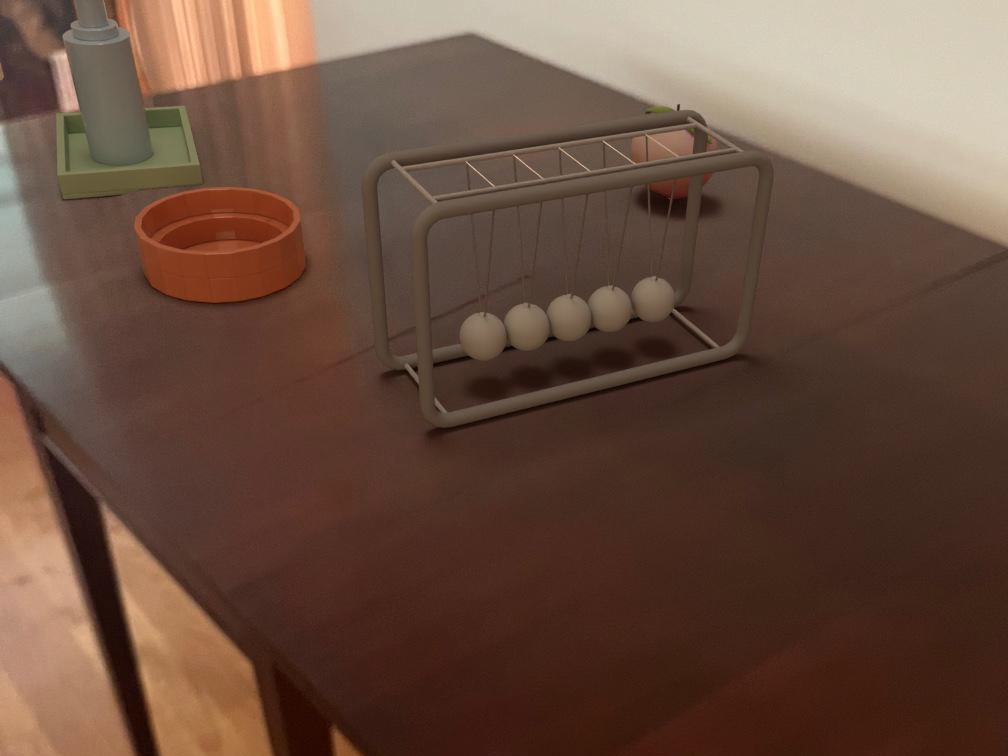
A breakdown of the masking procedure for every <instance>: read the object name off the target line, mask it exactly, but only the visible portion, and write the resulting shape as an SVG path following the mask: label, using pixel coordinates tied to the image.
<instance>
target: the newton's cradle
mask: <svg viewBox="0 0 1008 756" xmlns="http://www.w3.org/2000/svg"><path fill="white" fill-rule="evenodd" d="M707 126H708V125H707V122H706V120H705V118H704V117H703V116H702V115H701V113H699V112H698V111H695V110H693V109H680V110H679V111H677V110H675V111H672V112H666V113H659V114H657V113H653V114H652V113H651V114H645V115H638V116H630V117H625V118H618V119H611V120H605V121H597V122H590V123H589V122H588V123H583V124H575V125H569V126H562V127H561V126H560V127H554V128H548V129H540V130H534V131H527V132H521V133H512V134H505V135H499V136H492V137H485V138H479V139H471V140H464V141H457V142H449V143H443V144H438V145H429V146H423V147H422V146H421V147H417V148H409V149H402V150H395V151H389V152H386V153H383V154H380V155H378V156H377V157H375V158H374V159H372V160H371V162H369V164H367V165H368V166H366V168H365V170H364V172H363V175H362V178H361V197H362V210H363V222H364V235H365V245H366V257H367V268H368V269H367V272H368V282H369V294H370V306H371V316H372V317H371V318H372V328H373V330H372V331H373V342H374V350H375V353H376V357H377V358H378V360H379V362H380V363H381V364H382V365H383V366H385V367H386V368H388V369H391V370H394V371H405V370H406V371H407V372H408V373H409V375H410V376H411V377H412V379H413V380H414V381H415V382H416V384H417V385H418V395H419V397H418V398H419V407H420V411H421V415H422V416H423V418H424V419H425V421H426V422H428V423H429V424H431V425H432V426H434V427H436V428H437V427H438V428H441V429H442V428H443V429H446V428H454V427H458V426H462V425H467V424H470V423H473V422H477V421H478V422H479V421H482V420H485V419H489V418H494V417H497V416H502V415H506V414H511V413H514V412H518V411H523V410H527V409H530V408H534V407H537V406H543V405H546V404H550V403H555V402H558V401H562V400H566V399H571V398H575V397H578V396H583V395H586V394H590V393H594V392H598V391H602V390H607V389H610V388H614V387H619V386H623V385H627V384H630V383H634V382H639V381H643V380H647V379H651V378H655V377H660V376H662V375H668V374H672V373H675V372H680V371H684V370H687V369H692V368H696V367H699V366H704V365H708V364H712V363H717V362H719V361H723V360H728V359H729V358H732V357H733V356H735V355H736V354H737V353H739V352H740V350H741V349H742V348H743V347H744V346H745V345H746V343H747V341H748V339H749V336H750V332H751V327H752V320H753V314H754V309H755V308H754V307H755V299H756V294H757V288H758V281H759V274H760V269H761V261H762V257H763V249H764V242H765V236H766V229H767V223H768V217H769V209H770V203H771V197H772V191H773V183H774V171H775V170H774V166H773V163H772V160H771V159H770V158H769V156H767V154H766V153H764V152H762V151H759V150H743V149H742V148H740V147H738V146H737V145H736V144H734V143H732V142H730V141H729V140H727V139H726V138H724V137H723V136H721V135H719V134H718V133H716V132H714V131H713V130H712V129H711V128H710V129H711V130H710V129H708V128H707ZM686 129H694V144H693V154H691V155H685V156H678V155H676V154H675V153H673V152H672V151H670V150H669V149H667V148H666V147H664V146H663V145H661V144H660V143H658V142H657V141H655V140H654V139H652V138H651V137H649V136H648V135H654V134H660V133H667V132H673V131H680V130H686ZM708 135H709V136H711V137H712V138H714V139H715V140H717V142H719V143H720V144H722V146H725V147H727V148H723V149H719V150H716V151H710V152H706V149H707V141H708ZM640 136H645V138H646V162H642V163H636V164H635V163H634V162H633V161H632V159H630V158H629V157H627V156H626V155H624V154H623V153H622V152H620V151H619V150H617V149H616V148H614V147H613V146H612V145H610V144H609V143H608V142H614V141H619V140H627V139H633V138H634V137H640ZM647 137H649V138H650V139H652V140H653V141H655V142H656V143H658V144H659V145H660V146H662V147H663V148H665V149H666V150H668V151H669V152H671V153H672V154H674V155H675V156H677V157H673V158H667V159H660V160H654V161H648V139H647ZM600 143H602V161H603V163H602V164H603V168H599V169H593V170H590V169H589V168H587V167H586V166H585V165H584V164H582V162H581V163H580V162H579V161H578V160H577V159H576V158H574V157H572V156H571V155H570V154H569V153H568V152H566V151H565V150H564V149H567V148H573V147H581V146H587V145H592V144H593V145H594V144H600ZM606 145H607V146H608V147H609V148H610V149H612V150H614V151H615V152H616V153H617V154H619V155H621V156H622V157H623V158H625V159H626V160H627V161H628V162H630V164H624V165H618V166H612V167H611V166H610V167H606V165H607V164H606ZM554 150H558V163H559V175H555V176H550V177H543V176H542V175H540V174H539V173H538V172H537V171H535V170H534V169H533V168H532V167H530V165H527V164H526V163H525V162H524V161H523V160H522V159H520V158H519V157H518V156H521V155H528V154H534V153H540V152H548V151H554ZM562 152H563V153H564V154H565V155H566V156H568V157H569V158H570V159H571V160H573V161H574V162H576V163H577V164H578V165H579V166H581V167H582V168H584V169H585V170H586V171H581V172H575V173H569V174H568V173H567V174H563V167H562ZM713 156H714V157H713ZM508 157H512V162H513V174H514V175H513V176H514V177H513V178H514V182H513V183H507V184H501V185H495V184H493V183H492V182H491V181H490V180H489V179H487V178H486V177H485V176H484V175H483V174H482V173H481V172H479V171H478V170H477V169H476V168H475V167H474V166H473V165H471V164H470V163H474V162H481V161H488V160H495V159H501V158H508ZM707 157H708V158H707ZM516 159H517V160H518V161H519V162H520V163H521V164H523V165H524V166H525V167H526V168H528V169H529V170H530V171H532V172H533V173H534V174H535V175H537V177H539V178H537V179H531V180H525V181H519V182H518V177H517V176H518V175H517V165H516V164H517V163H516ZM461 164H465V171H466V179H467V190H463V191H457V192H451V193H446V194H439V195H431V194H430V193H429V192H428V191H427V189H425V188H424V187H423V186H422V185H421V184H420V183H419V182H418V181H417V180H416V179H415V178H414V177H413V176H411V174H409V172H416V171H422V170H429V169H435V168H441V167H450V166H455V165H461ZM664 164H665V165H664ZM658 165H659V166H658ZM652 166H653V167H652ZM469 167H470V168H471V169H472V170H473V171H475V172H476V173H477V174H478V175H479V176H480V177H481V178H483V179H484V180H485V182H487V183H489V185H490V186H489V187H483V188H475V189H471V181H470V170H469ZM646 167H647V168H646ZM749 167H755V168H756V169H757V171H758V180H757V181H758V182H757V189H756V196H755V201H754V210H753V216H752V221H751V222H752V223H751V230H750V236H749V244H748V250H747V257H746V262H745V263H746V264H745V270H744V277H743V285H742V292H741V298H740V305H739V311H738V312H739V313H738V319H737V325H736V331H735V334H734V335H733V337H732V339H731V340H730V341H729V342H727V343H726V344H724V345H722V346H720V345H718V343H716V342H715V341H714V340H713V339H711V338H710V337H709V336H708V335H707V334H705V333H704V332H703V331H702V330H701V329H700V328H698V327H697V326H696V325H695V324H693V323H692V322H691V321H690V320H689V319H687V317H685V316H684V315H682V313H680V312H679V311H678V310H676V308H677V307H679V306H680V305H681V304H682V303H684V301H685V300H686V298H687V297H688V295H689V294H690V290H691V286H692V281H693V271H694V263H695V255H696V254H695V253H696V245H697V236H698V227H699V219H700V210H701V201H702V193H703V192H702V191H703V187H702V185H703V176H704V174H708V173H713V174H714V173H720V172H725V171H731V170H732V171H733V170H736V169H743V168H749ZM640 168H641V169H640ZM393 169H395V170H396V171H397V172H398V173H399V174H400V175H401V176H402V177H403V178H404V179H405V180H406V181H407V182H408V183H409V184H410V185H412V187H414V189H416V190H417V191H418V192H419V193H420V194H421V196H423V197H424V198H425V199H426V200H427V201H428V202H429V203H430V205H428V206H427V207H425V208H424V209H422V210H421V211H420V213H419V214H418V215H417V216H416V218H415V219H414V221H413V224H412V227H411V229H410V240H409V241H410V254H411V256H410V257H411V271H412V272H411V273H412V275H411V276H412V290H413V291H412V292H413V293H412V294H413V308H414V309H413V310H414V324H415V343H416V344H415V345H416V352H415V353H411V354H406V355H395V354H394V353H392V352H391V350H390V349H391V348H390V342H389V329H388V315H387V314H388V313H387V301H386V289H385V288H386V287H385V275H384V262H383V249H382V248H383V247H382V235H381V234H382V233H381V222H380V221H381V219H380V207H379V194H378V193H379V192H378V183H379V180H380V178H381V176H383V174H384V173H385V172H387V171H390V170H393ZM685 177H690V182H689V192H688V196H687V200H686V201H687V202H686V212H685V223H684V232H683V239H682V248H681V258H680V260H681V261H680V268H679V278H678V284H677V287H676V289H675V291H674V289H673V287H672V285H671V284H670V283H669V282H668V281H667V280H666V279H664V278H662V277H659V274H660V269H661V264H662V259H663V258H662V257H663V252H664V247H665V242H666V237H667V232H668V227H669V221H670V216H671V211H672V205H673V201H674V200H673V195H674V190H675V184H676V179H679V178H685ZM673 179H674V184H673V189H672V195H671V200H669V205H668V211H667V216H666V222H665V227H664V233H663V237H662V242H661V243H662V244H661V247H660V248H661V249H660V255H659V258H658V265H657V269H656V275H654V268H653V267H654V266H653V241H652V217H651V216H652V215H651V213H652V212H651V189H650V188H649V184H650V183H656V182H662V181H667V180H673ZM644 184H647V186H646V188H647V207H648V208H647V211H648V229H649V230H648V234H649V258H650V259H649V261H650V276H649V277H645V278H643V279H641V280H639V281H638V282H637V283H636V284H635V286H634V287H633V289H632V292H631V295H630V297H629V295H628V294H627V293H626V291H624V290H622V289H621V288H619V287H618V286H616V280H617V275H618V269H619V264H620V259H621V253H622V247H623V243H624V237H625V233H626V232H625V231H626V227H627V226H626V225H627V220H628V215H629V211H630V210H629V209H630V205H631V199H632V193H633V189H634V187H638V186H643V185H644ZM644 186H645V185H644ZM626 188H629V195H628V198H627V199H628V200H627V205H626V209H625V217H624V221H623V227H622V231H621V232H622V233H621V238H620V243H619V249H618V255H617V258H616V259H617V260H616V266H615V271H614V275H613V281H612V284H611V285H610V283H611V281H610V257H609V254H610V253H609V252H610V251H609V228H608V225H609V224H608V223H609V222H608V198H607V197H608V196H607V195H608V194H607V192H608V191H613V190H614V191H615V190H620V189H626ZM603 192H604V216H605V217H604V219H605V220H604V221H605V246H606V247H605V248H606V273H607V275H606V276H607V278H606V279H607V285H605V286H601V287H599V288H598V289H596V290H594V292H593V293H591V296H590V297H589V299H588V301H587V302H586V301H585V300H584V299H582V298H581V297H580V296H579V295H578V296H577V295H576V294H575V295H574V292H575V285H576V279H577V273H578V272H577V271H578V265H579V258H580V253H581V246H582V239H583V232H584V226H585V221H586V220H585V218H586V213H587V208H588V207H587V205H588V199H589V195H591V194H596V193H597V194H598V193H603ZM580 196H585V200H584V207H583V213H582V218H581V219H582V220H581V227H580V234H579V240H578V247H577V252H576V259H575V267H574V273H573V280H572V285H571V293H569V281H568V277H569V276H568V261H567V260H568V259H567V241H566V240H567V239H566V224H565V223H566V222H565V203H564V202H565V201H564V199H567V198H572V197H580ZM556 200H561V202H560V203H561V217H562V218H561V219H562V238H563V256H564V273H565V274H564V275H565V290H566V291H565V293H566V294H562V295H559V296H558V297H556V298H554V299H553V300H552V301H551V302H550V303H549V305H548V307H547V310H546V312H545V311H544V310H543V309H542V308H541V307H540V306H538V305H536V304H534V303H531V301H532V293H533V286H534V285H533V284H534V274H535V269H536V259H537V251H538V243H539V234H540V224H541V218H542V217H541V216H542V208H543V203H545V202H551V201H556ZM532 204H539V208H538V216H537V226H536V233H535V242H534V243H535V244H534V251H533V258H532V259H533V260H532V268H531V275H530V277H531V279H530V286H529V293H528V302H527V299H526V288H525V286H526V285H525V274H524V258H523V257H524V256H523V246H522V233H521V231H522V230H521V219H520V218H521V217H520V207H522V206H527V205H532ZM514 207H515V208H516V215H517V216H516V217H517V229H518V230H517V231H518V243H519V257H520V270H521V284H522V297H523V303H519V304H517V305H515V306H513V307H512V308H511V309H509V311H508V312H507V313H506V315H505V317H504V319H503V322H502V320H501V319H500V318H498V317H497V316H496V315H495V314H492V313H489V312H487V307H488V306H487V305H488V295H489V282H490V270H491V259H492V247H493V234H494V222H495V212H496V211H497V210H503V209H510V208H514ZM485 212H491V223H490V224H491V225H490V237H489V247H488V248H489V249H488V259H487V273H486V283H485V285H486V286H485V297H484V308H483V309H484V310H482V297H481V290H480V289H481V287H480V277H479V276H480V275H479V267H478V266H479V265H478V257H477V256H478V255H477V246H476V233H475V223H474V214H480V213H485ZM469 215H470V222H471V231H472V232H471V233H472V243H473V254H474V263H475V266H474V267H475V274H476V285H477V286H476V287H477V296H478V307H479V312H475V313H473V314H471V315H469V316H468V317H467V318H466V319H465V320H464V321H463V323H462V325H461V326H460V329H459V336H458V337H459V343H456V344H452V345H447V346H442V347H437V348H433V335H432V334H433V333H432V314H431V312H432V311H431V293H430V292H431V291H430V271H429V270H430V269H429V268H430V267H429V252H428V249H429V248H428V247H429V246H428V235H429V233H430V230H431V228H432V227H433V226H434V225H435V224H436V223H437V222H439V221H441V220H444V219H451V218H456V217H462V216H469ZM674 308H675V309H674ZM671 313H672V314H673V315H674V316H675V317H676V318H678V319H679V320H680V321H681V322H682V323H684V324H685V325H686V326H687V327H688V328H690V329H691V330H692V331H693V332H694V333H695V334H697V335H698V336H699V337H700V338H701V339H703V340H704V341H705V342H706V343H707V344H709V345H710V346H711V347H712V348H709V349H704V350H701V351H696V352H692V353H688V354H684V355H681V356H677V357H672V358H668V359H664V360H659V361H655V362H651V363H648V364H643V365H638V366H635V367H631V368H626V369H623V370H618V371H614V372H610V373H606V374H602V375H597V376H594V377H589V378H586V379H582V380H577V381H573V382H567V383H565V384H561V385H557V386H552V387H549V388H543V389H539V390H536V391H532V392H528V393H523V394H519V395H515V396H510V397H506V398H503V399H499V400H494V401H491V402H487V403H482V404H478V405H474V406H470V407H466V408H465V407H464V408H461V409H458V410H457V409H456V410H454V411H449V412H448V411H447V409H445V408H444V406H443V405H442V404H441V403H440V401H439V400H438V399H437V398H436V395H435V379H434V378H435V377H434V376H435V375H434V364H437V363H441V362H447V361H452V360H455V359H460V358H463V357H470V358H472V359H474V360H476V361H480V362H481V361H482V362H484V361H491V360H493V359H495V358H497V357H499V356H500V354H501V353H502V352H503V351H504V349H505V348H509V347H513V348H515V349H516V350H519V351H523V352H531V351H536V350H537V349H539V348H541V347H542V346H543V345H544V344H545V343H546V341H547V340H548V338H549V339H550V338H553V337H555V338H557V340H560V341H561V342H562V341H563V342H575V341H578V340H580V339H581V338H583V337H584V336H585V335H586V334H587V332H588V331H589V330H590V329H593V328H594V329H597V330H599V331H601V332H604V333H615V332H617V331H620V330H622V329H623V328H624V327H626V326H627V324H628V323H629V321H630V320H634V319H633V318H635V319H638V317H639V319H640V320H641V321H644V322H647V323H659V322H662V321H664V320H665V319H666V318H668V317H669V316H670V315H671ZM416 368H417V373H416V372H415V370H414V369H416Z"/></svg>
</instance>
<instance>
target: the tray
mask: <svg viewBox="0 0 1008 756" xmlns="http://www.w3.org/2000/svg"><path fill="white" fill-rule="evenodd" d="M145 111H146V115H147V120H148V125H149V130H150V135H151V140H152V145H153V150H154V153H153V155H152V156H151V157H150V158H149V159H147V160H145V161H142V162H139V163H135V164H129V165H107V164H102V163H98V162H96V161H94V160H93V159H92V158H91V155H90V151H89V147H88V142H87V138H86V134H85V130H84V126H83V121H82V117H81V113H80V111H77V112H76V111H73V112H57V113H55V135H56V136H55V138H56V141H55V142H56V173H57V174H56V176H57V180H58V181H57V182H58V184H59V188H60V192H61V195H62V199H63V200H74V199H86V198H87V199H89V198H99V197H101V198H102V197H112V196H124V195H127V194H130V193H134V192H137V191H139V190H146V189H160V188H161V189H162V188H171V187H184V186H185V187H186V186H196V185H203V184H204V180H203V174H202V169H201V164H200V160H199V156H198V151H197V147H196V144H195V139H194V136H193V131H192V128H191V123H190V120H189V115H188V110H187V107H186V105H171V106H170V105H169V106H157V107H156V106H155V107H154V106H153V107H145Z"/></svg>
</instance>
